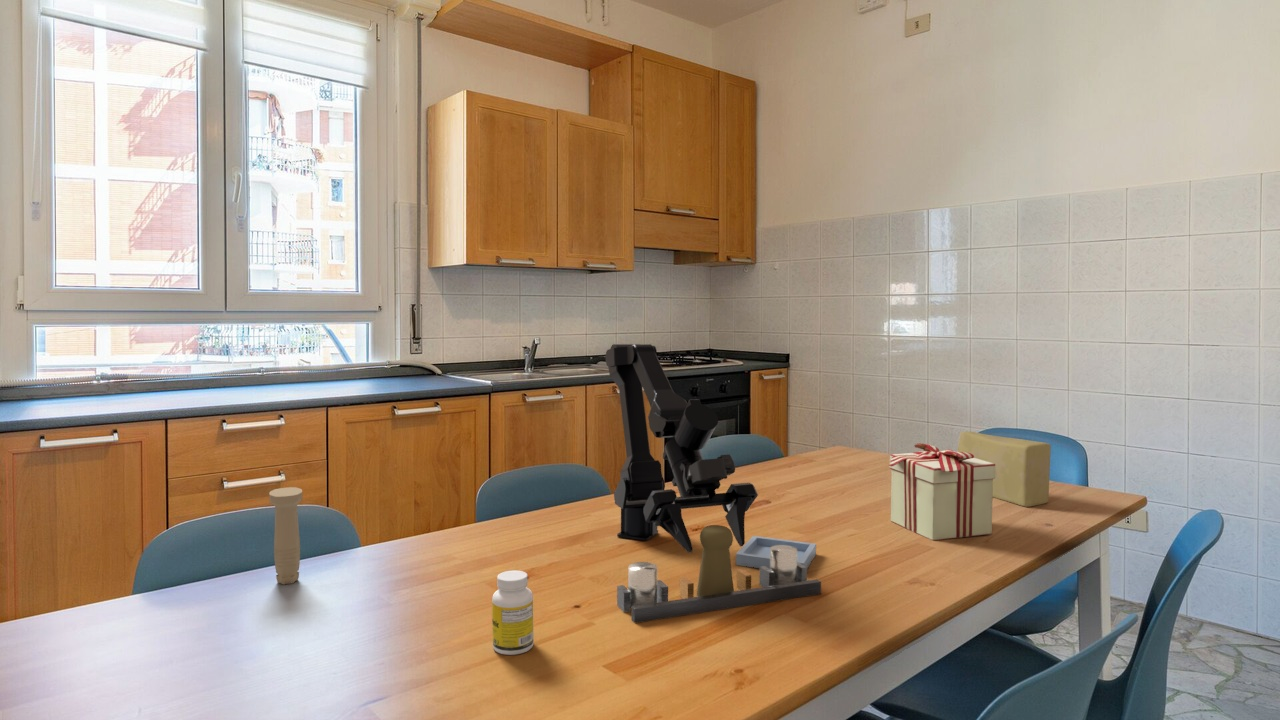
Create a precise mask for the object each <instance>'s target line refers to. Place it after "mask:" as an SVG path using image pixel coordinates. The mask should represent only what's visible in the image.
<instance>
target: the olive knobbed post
mask: <svg viewBox="0 0 1280 720" xmlns="http://www.w3.org/2000/svg"><path fill="white" fill-rule="evenodd" d="M733 538H734V535H733V532H732V530H731V528H730V527H727V526H724V525H717V524H712V525H706V526H705V527H703V528H702V530H701V531H700V534H699V540H700V545H701V546H702V554H701V561H700V569H699V575H698V580H697V581H698V582H697V589H696V597H699V596H706V595H713V594H719V593H726V592H733V591H735V588H734V581H733V579H734V578H733V572H732V571H733V570H732V564H731V563H732V562H731V554H730V548H731V546H732V545H733V542H734V540H733Z"/></svg>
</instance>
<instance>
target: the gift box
mask: <svg viewBox="0 0 1280 720" xmlns="http://www.w3.org/2000/svg"><path fill="white" fill-rule="evenodd" d="M914 448H918V449H921V450H920V451H915V452H914V451H913V452H907V453H905V452H904V453H892V454H889V464H888V466H889V469H890V470H891V477H890V478H891V481H890V483H891V484H890V486H891V487H890V490H891V491H890V522H892V523H894V524H896V525H898V526H900V527H903V528H904V529H906V530H909V531H911V532H913V533H915V534H918V536H919V535H920V536H921V537H923V538H926V539H928V540H930V541H938V540H940V541H941V540H949V539H960V538H968V537H969V538H970V537H977V536H986V535H992V534H993V533H992V532H993V498H994V497H993V479H995V464H994V463H991V462H987V461H984V460H980V459H977V458H974V455H973V454H971V453H966V452H958V451H955V450H953V449H945V450H941V449H939V448H938V447H937V446H934V445H931V444H926V443H921V442H920V443H916V444H914Z"/></svg>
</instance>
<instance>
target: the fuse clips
mask: <svg viewBox="0 0 1280 720" xmlns="http://www.w3.org/2000/svg"><path fill="white" fill-rule="evenodd" d="M627 570H628V571H627V572H628V575H627V578H628V583H627V584H628V585H627V587H626V586H625V585H624V584H622V585H621V584H620V585H617V586H616V587H617V588H616V589H617V590H616V606H617V607H618V608H619V609H620V610H621V611H622V612H623V613H629V611H630V612H631V619H630V620H631V621H632V622H633V623H634V624H637V622H638V623H643V622H649V621H657V620H662V619H669V618H670V619H671V618H675V617H683V616H688V615H689V616H690V615H694V614H702V613H707V612H714V611H719V610H727V609H734V608H739V607H745V606H751V605H758V604H764V603H771V602H772V603H773V602H777V601H778V600H779V601H783V600H790V599H797V598H804V597H811V596H816V595H821V594H822V581H821V580H819V579H817V578H816V579H809V580H808V579H807V578H808V568H807V567H806V566H804V565H802V564H800V563H798V562H797V549H796V548H795V547H792V546H787V545H775V546H772V547H770V569H769V568H767V567H766V566H761V567H760V568H759V582H758V583H759V586H760V587H755V588H752V574H751V573H749V572H747V571H746V570H744V569H743V568H740V569H736V585H735V587H736V589H737V590H734V591H733V592H726V593H719V594H713V595H706V596H699V597H698V596H694V591H695V590H694V589H695V588H694V586H695V585H694V584H695V583H694V582H693V581H692V580H691V579H689V578H688V577H686V576H681V577H679V597H680V599H674V600H669V586H668V584H666V583H664V581H663V580H661V579H658V566H657V564H655V563H652V562H646V561H638V562H634V563H631V564H629V565H628V569H627ZM682 615H683V616H682ZM656 619H657V620H656Z"/></svg>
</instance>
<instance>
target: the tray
mask: <svg viewBox="0 0 1280 720" xmlns="http://www.w3.org/2000/svg"><path fill="white" fill-rule="evenodd" d="M775 545H787V546H792V547H795V548H796V549H797V562H798V563H800V564H802V565H804V566H806V567H807V569H808V568H809V566H810V565H811V563H812V562H813V560H814V559H813V558H816V555H817V543H811V542H805V541H798V540H791V539H782V538H773V537H767V536H766V537H765V536H758V535H752V537H751V538H750V539H749V540H748V541H747V542H746V543H744V545H743V546H741V548H740V549H739V550H738V551H737V552H736V554H735V566H739V567H746V566H747V567H748V568H753V567H754V568H755V569H760V567H761V566H766V567H767V568H769V569H770V547H772V546H775ZM811 561H812V562H811Z"/></svg>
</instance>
